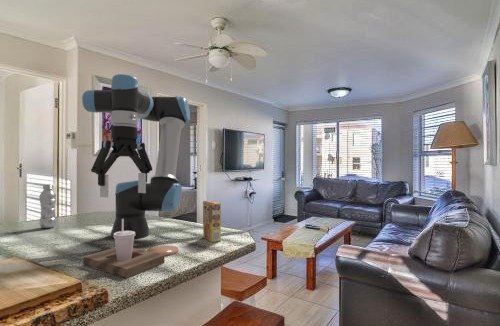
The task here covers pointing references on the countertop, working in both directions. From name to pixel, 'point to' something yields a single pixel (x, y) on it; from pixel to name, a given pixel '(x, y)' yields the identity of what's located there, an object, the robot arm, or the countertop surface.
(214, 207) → the candy box
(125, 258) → the smoothie
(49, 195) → the plastic bottle
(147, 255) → the frame
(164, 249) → the glossy peach dome
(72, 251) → the countertop surface
